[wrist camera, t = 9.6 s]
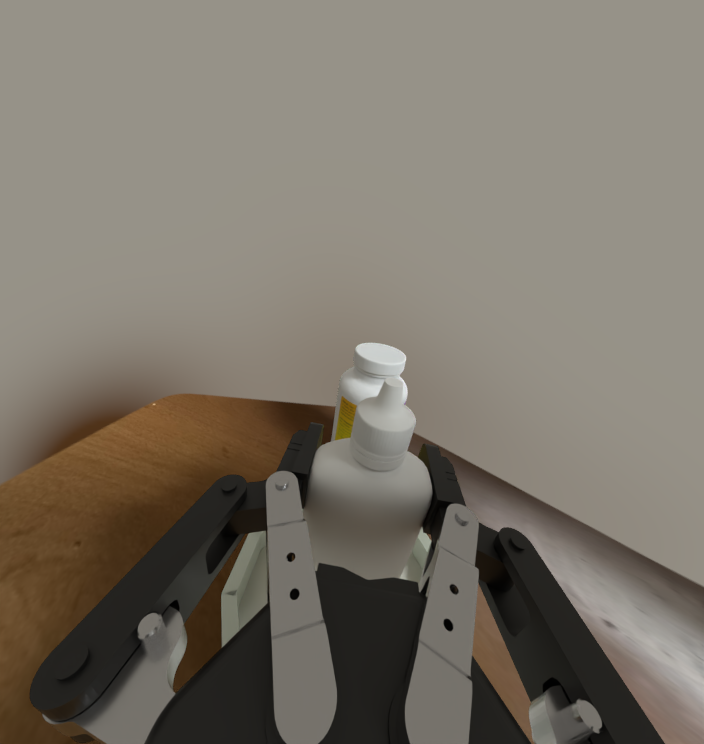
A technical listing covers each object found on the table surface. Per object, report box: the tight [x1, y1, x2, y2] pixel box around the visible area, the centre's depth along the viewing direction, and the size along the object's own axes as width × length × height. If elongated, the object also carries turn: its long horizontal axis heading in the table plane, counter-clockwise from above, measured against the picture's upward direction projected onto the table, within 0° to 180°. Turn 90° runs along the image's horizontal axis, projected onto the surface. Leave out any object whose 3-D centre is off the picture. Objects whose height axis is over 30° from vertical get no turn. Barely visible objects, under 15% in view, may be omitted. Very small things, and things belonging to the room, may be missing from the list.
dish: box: [221, 509, 431, 647], centre depth 17 cm, size 14×14×2 cm
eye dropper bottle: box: [303, 378, 433, 580], centre depth 12 cm, size 4×6×12 cm
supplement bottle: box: [331, 343, 408, 442], centre depth 26 cm, size 7×7×13 cm
